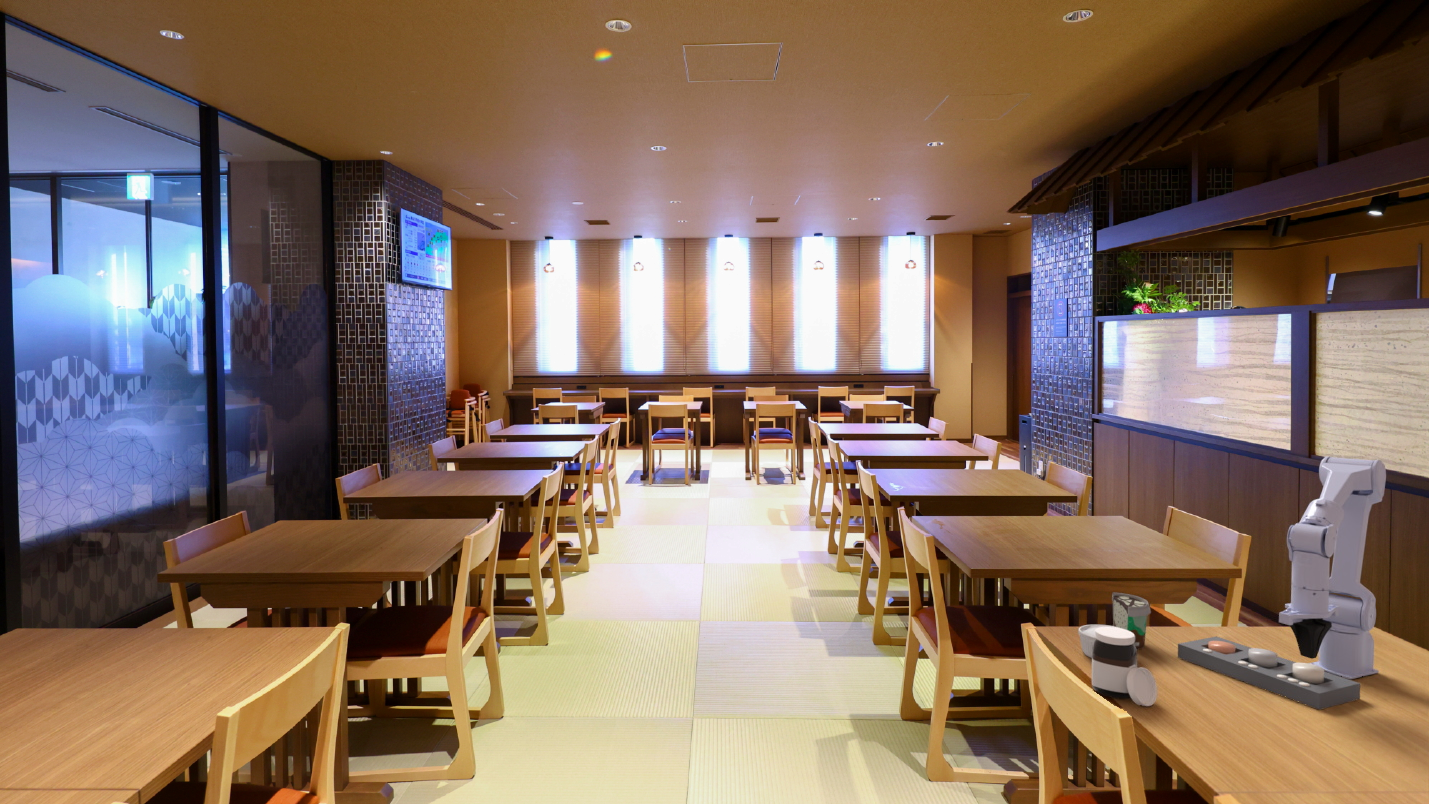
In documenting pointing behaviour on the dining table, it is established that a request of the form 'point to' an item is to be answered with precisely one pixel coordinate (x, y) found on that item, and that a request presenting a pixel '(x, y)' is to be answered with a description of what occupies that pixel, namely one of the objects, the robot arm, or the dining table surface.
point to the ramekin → (1089, 637)
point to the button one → (1222, 647)
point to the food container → (1131, 615)
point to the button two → (1262, 657)
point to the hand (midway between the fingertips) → (1308, 656)
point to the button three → (1308, 673)
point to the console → (1270, 674)
